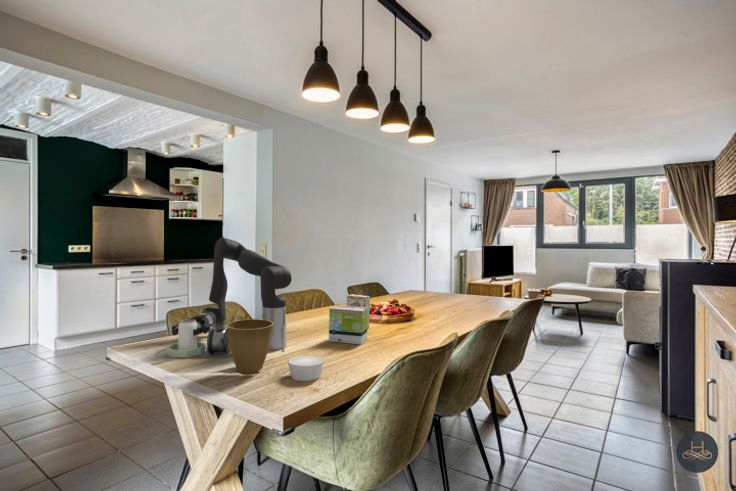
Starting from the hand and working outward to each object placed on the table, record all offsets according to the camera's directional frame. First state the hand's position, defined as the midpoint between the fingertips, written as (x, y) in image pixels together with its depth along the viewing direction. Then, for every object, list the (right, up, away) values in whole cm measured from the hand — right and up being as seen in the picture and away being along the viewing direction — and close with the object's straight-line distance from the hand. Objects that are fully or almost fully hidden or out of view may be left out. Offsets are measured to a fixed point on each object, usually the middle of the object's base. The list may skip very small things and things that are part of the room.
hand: (184, 332), depth 147 cm
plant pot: (+29, -10, -15) cm, 34 cm away
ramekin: (+48, -10, -19) cm, 53 cm away
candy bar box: (+63, -10, +54) cm, 83 cm away
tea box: (+59, -10, +28) cm, 66 cm away
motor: (+12, -8, +3) cm, 15 cm away
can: (0, -8, +2) cm, 8 cm away
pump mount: (+5, -9, +3) cm, 10 cm away
